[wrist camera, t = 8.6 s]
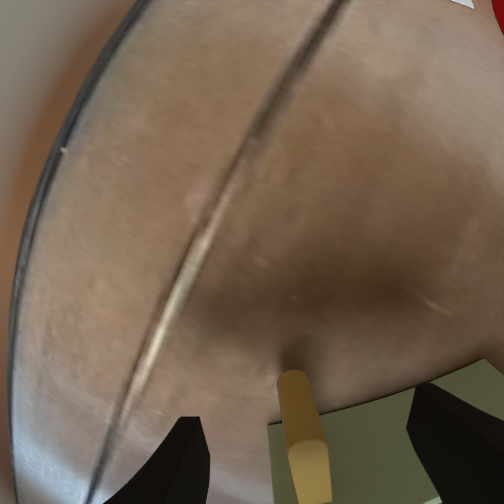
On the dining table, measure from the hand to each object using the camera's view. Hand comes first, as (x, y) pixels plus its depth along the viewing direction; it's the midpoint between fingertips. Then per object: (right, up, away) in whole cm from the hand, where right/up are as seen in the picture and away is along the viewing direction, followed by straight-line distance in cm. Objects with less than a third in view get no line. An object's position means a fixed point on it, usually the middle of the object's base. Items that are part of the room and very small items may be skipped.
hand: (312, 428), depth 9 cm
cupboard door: (+6, -1, +8) cm, 10 cm away
